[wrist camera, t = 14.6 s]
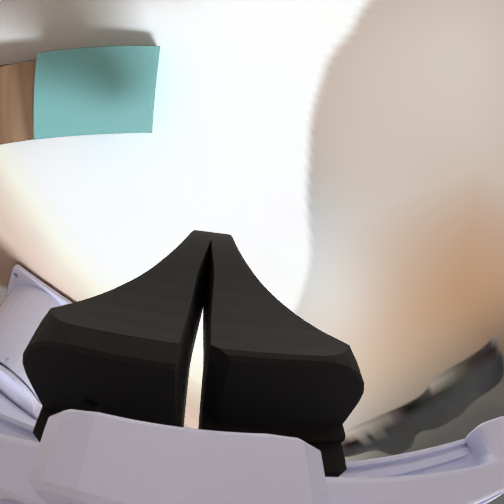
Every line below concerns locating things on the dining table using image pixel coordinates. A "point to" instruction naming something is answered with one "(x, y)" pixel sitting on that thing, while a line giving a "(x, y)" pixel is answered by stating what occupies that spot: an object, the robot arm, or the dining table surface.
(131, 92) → the domino
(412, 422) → the dining table surface
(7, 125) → the domino
